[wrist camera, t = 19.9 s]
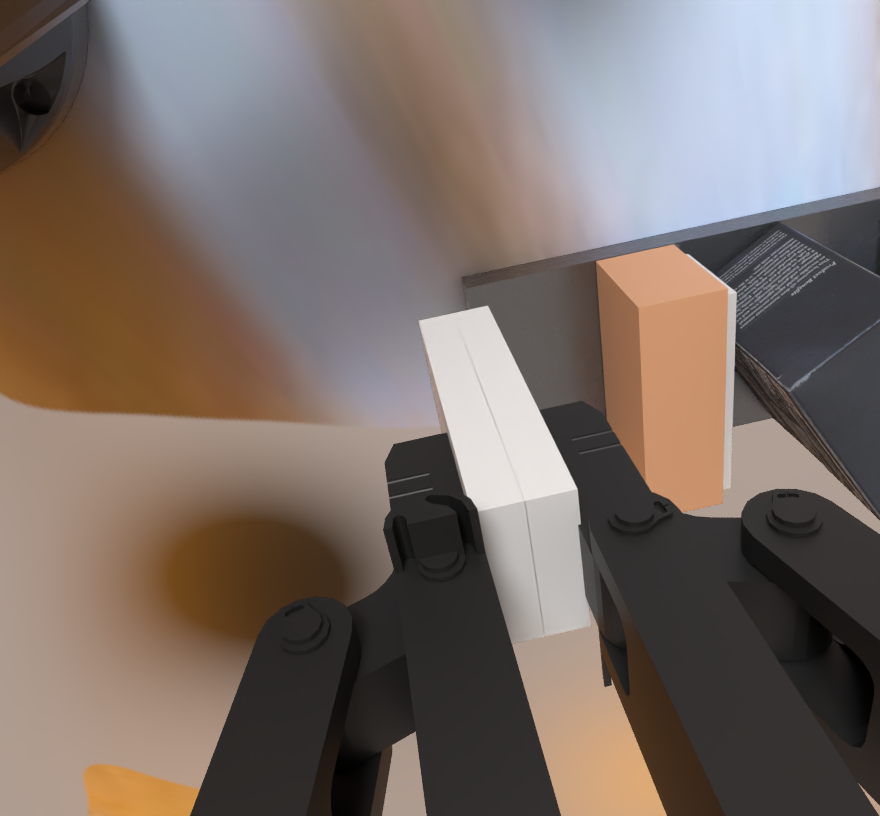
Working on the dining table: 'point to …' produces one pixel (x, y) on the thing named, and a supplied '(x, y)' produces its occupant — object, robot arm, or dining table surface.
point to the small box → (813, 350)
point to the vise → (575, 278)
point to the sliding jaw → (670, 371)
